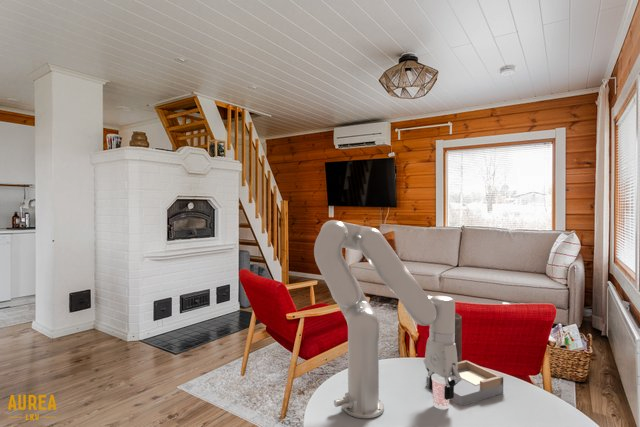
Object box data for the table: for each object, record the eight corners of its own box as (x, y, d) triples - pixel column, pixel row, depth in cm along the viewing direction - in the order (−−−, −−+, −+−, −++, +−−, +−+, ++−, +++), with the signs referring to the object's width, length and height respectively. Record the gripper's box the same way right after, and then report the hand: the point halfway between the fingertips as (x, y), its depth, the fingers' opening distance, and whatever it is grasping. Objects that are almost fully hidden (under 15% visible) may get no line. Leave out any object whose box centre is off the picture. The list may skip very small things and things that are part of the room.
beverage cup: (426, 402, 120) (427, 358, 120) (442, 399, 123) (442, 356, 122) (439, 412, 114) (440, 366, 114) (455, 408, 117) (456, 363, 117)
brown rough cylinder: (459, 360, 155) (459, 312, 155) (464, 368, 148) (464, 317, 148) (440, 360, 156) (439, 311, 156) (444, 367, 148) (443, 316, 148)
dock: (461, 405, 119) (460, 388, 119) (426, 384, 134) (426, 369, 134) (503, 393, 127) (503, 376, 127) (466, 374, 142) (466, 360, 142)
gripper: (414, 329, 125) (413, 384, 125) (453, 346, 109) (452, 409, 109) (432, 327, 128) (431, 380, 128) (472, 343, 112) (471, 404, 112)
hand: (441, 393), depth 118 cm, fingers closed on beverage cup, 6 cm apart
